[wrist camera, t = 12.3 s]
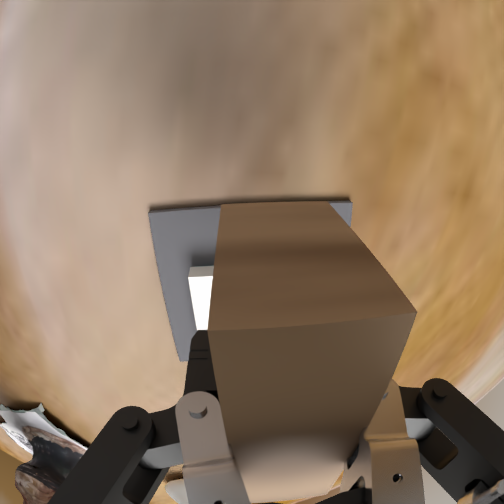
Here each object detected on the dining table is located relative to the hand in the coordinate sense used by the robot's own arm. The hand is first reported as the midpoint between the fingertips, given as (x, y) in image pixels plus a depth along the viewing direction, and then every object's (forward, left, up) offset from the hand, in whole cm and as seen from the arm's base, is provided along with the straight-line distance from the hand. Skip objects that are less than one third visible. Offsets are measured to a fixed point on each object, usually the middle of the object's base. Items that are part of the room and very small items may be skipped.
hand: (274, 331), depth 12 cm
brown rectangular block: (0, 0, -1) cm, 1 cm away
